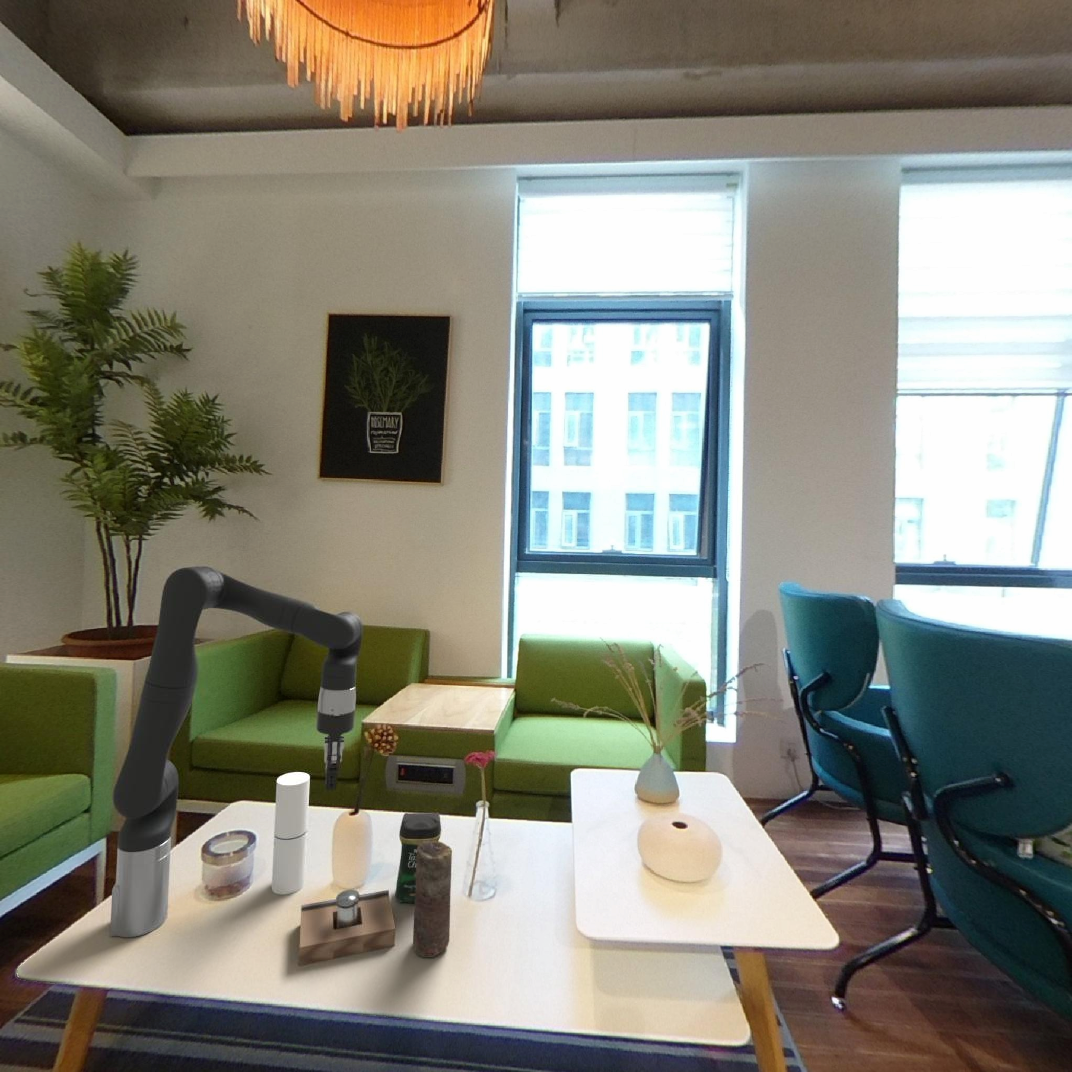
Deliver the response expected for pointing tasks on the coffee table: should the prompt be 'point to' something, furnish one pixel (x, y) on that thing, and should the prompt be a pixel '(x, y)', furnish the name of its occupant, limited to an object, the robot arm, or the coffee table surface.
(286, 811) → the cylindrical container
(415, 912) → the candle
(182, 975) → the coffee table surface
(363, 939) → the jig
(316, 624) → the robot arm
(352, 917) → the salt shaker
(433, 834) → the coffee jar
